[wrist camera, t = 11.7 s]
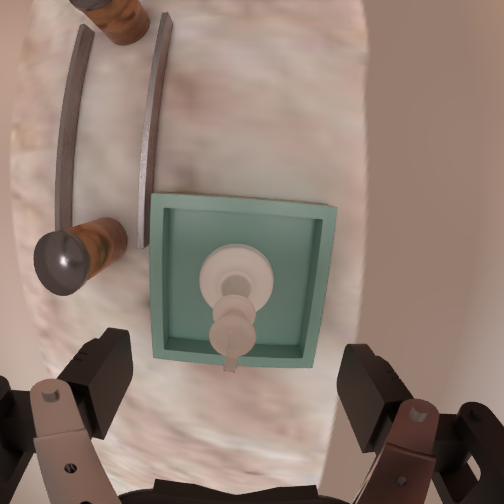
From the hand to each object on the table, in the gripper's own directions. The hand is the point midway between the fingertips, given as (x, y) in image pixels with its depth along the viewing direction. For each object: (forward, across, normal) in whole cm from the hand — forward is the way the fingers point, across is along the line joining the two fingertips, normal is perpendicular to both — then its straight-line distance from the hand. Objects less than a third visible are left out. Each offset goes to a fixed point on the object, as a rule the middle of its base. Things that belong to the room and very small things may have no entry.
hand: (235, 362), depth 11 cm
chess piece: (+10, 0, 0) cm, 10 cm away
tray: (+11, 0, 0) cm, 11 cm away
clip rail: (+11, +10, -10) cm, 17 cm away
